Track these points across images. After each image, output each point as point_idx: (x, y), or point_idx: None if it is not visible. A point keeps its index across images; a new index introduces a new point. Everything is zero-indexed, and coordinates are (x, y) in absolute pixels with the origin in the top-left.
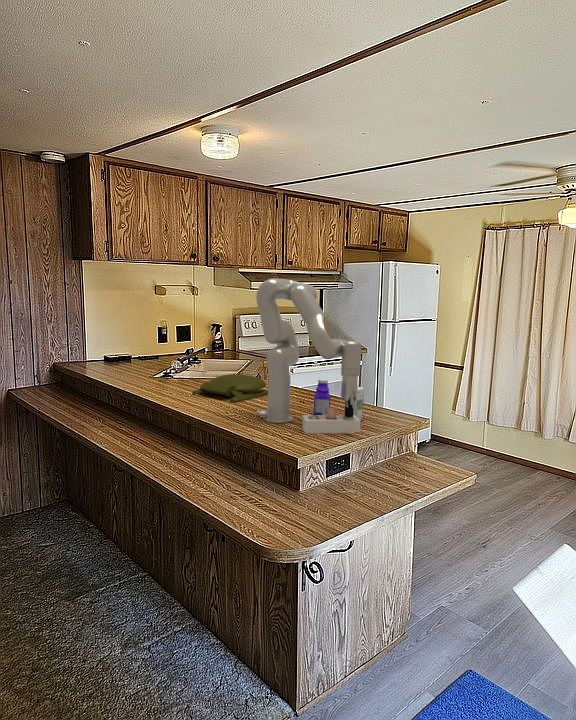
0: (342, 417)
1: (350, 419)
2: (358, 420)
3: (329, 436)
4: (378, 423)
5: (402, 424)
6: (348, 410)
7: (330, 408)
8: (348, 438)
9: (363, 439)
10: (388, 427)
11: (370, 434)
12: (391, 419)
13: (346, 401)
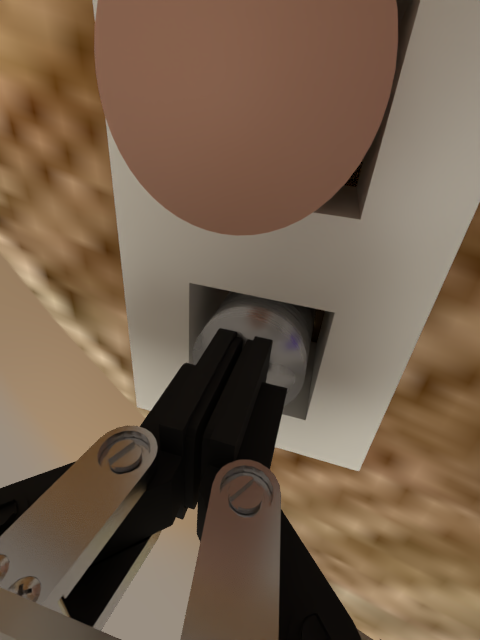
0: (333, 315)
1: (188, 351)
2: (153, 400)
3: (73, 21)
4: (405, 540)
5: (342, 596)
6: (156, 412)
7: (211, 29)
8: (50, 206)
9: (51, 300)
10: (299, 528)
11: None
12: (468, 625)
13: (191, 588)
